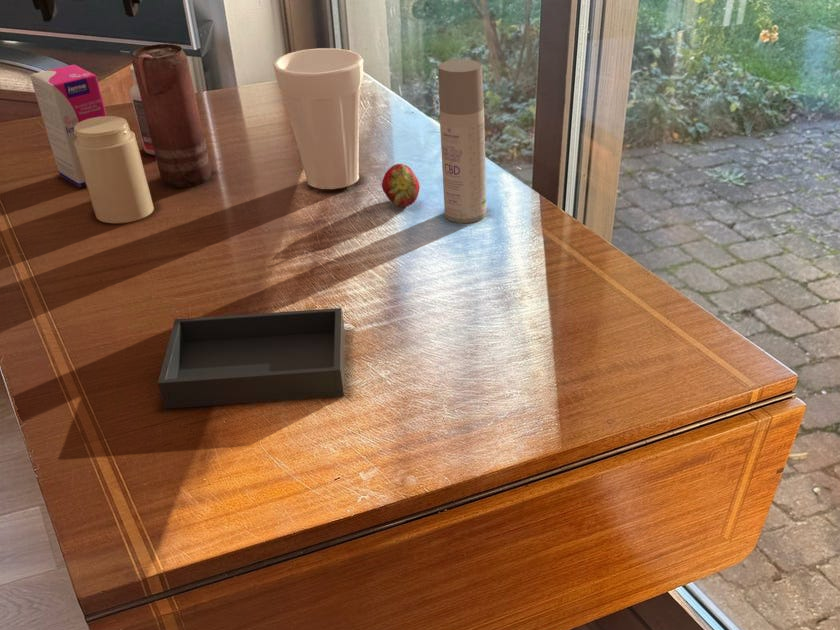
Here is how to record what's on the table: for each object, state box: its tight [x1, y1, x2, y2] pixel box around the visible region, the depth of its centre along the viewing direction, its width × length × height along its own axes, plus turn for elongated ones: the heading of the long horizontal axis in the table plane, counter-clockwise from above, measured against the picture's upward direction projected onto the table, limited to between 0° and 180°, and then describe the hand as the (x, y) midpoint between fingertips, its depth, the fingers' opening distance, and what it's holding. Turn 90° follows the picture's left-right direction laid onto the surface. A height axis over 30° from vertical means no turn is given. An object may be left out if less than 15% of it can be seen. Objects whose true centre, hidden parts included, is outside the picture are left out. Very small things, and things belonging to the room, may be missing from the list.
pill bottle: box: [129, 64, 155, 156], centre depth 124 cm, size 5×5×10 cm
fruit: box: [381, 163, 421, 208], centre depth 111 cm, size 4×6×5 cm
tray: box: [157, 307, 346, 410], centre depth 87 cm, size 15×11×2 cm
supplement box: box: [29, 64, 107, 188], centre depth 117 cm, size 6×6×12 cm
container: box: [437, 58, 487, 224], centre depth 105 cm, size 5×5×15 cm
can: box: [131, 43, 212, 188], centre depth 115 cm, size 6×6×14 cm
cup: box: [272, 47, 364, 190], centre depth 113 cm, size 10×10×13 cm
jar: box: [74, 115, 155, 224], centre depth 110 cm, size 7×7×9 cm
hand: (91, 13), depth 91 cm, fingers closed on lid, 6 cm apart
